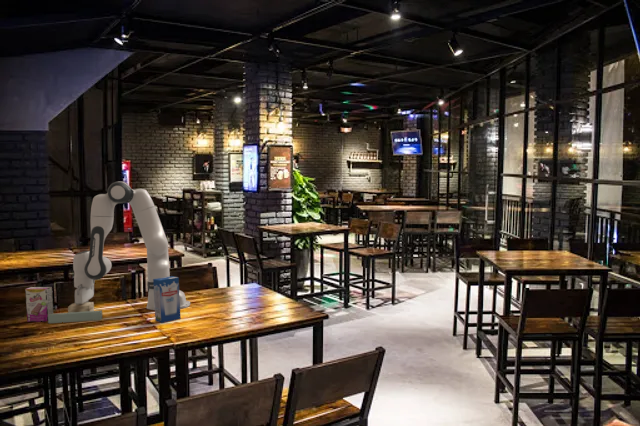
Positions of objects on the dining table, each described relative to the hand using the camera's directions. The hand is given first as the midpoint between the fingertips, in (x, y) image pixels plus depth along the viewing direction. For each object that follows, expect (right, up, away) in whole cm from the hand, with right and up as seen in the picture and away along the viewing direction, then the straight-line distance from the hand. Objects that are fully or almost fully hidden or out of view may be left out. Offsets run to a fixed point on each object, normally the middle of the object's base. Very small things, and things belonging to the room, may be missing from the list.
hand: (85, 309), depth 277 cm
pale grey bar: (+2, -3, -16) cm, 16 cm away
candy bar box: (-16, -4, -13) cm, 21 cm away
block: (+1, -2, -6) cm, 7 cm away
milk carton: (+48, -2, -20) cm, 52 cm away
